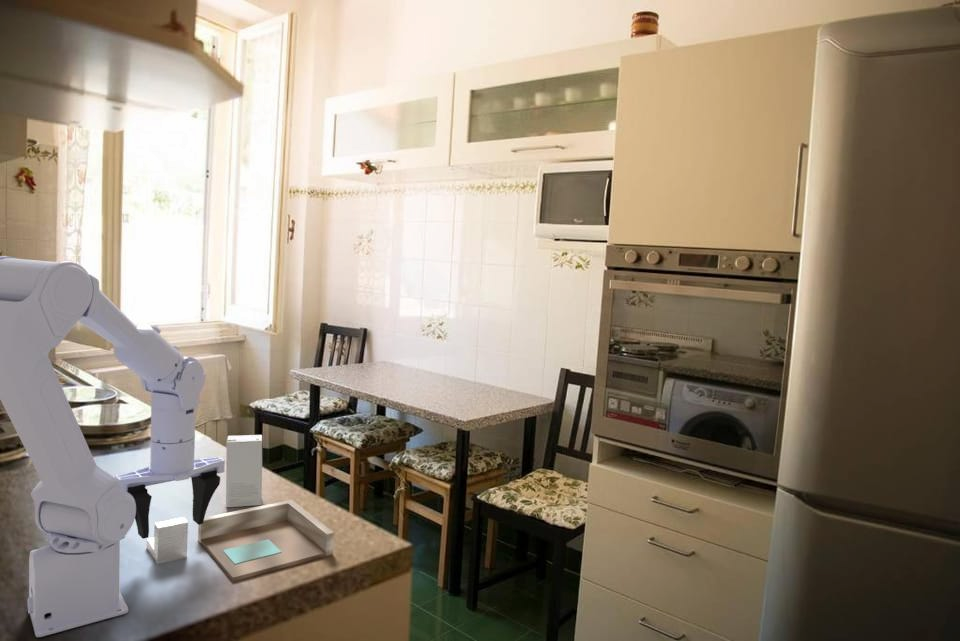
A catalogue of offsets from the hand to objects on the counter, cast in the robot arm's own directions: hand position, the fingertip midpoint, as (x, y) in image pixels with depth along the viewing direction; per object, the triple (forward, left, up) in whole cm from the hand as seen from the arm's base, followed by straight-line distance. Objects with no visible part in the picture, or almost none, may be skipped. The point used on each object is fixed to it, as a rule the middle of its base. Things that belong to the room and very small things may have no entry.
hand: (171, 528), depth 93 cm
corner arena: (+12, -5, -4) cm, 13 cm away
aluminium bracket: (0, +2, -5) cm, 5 cm away
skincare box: (+16, +14, -5) cm, 22 cm away
